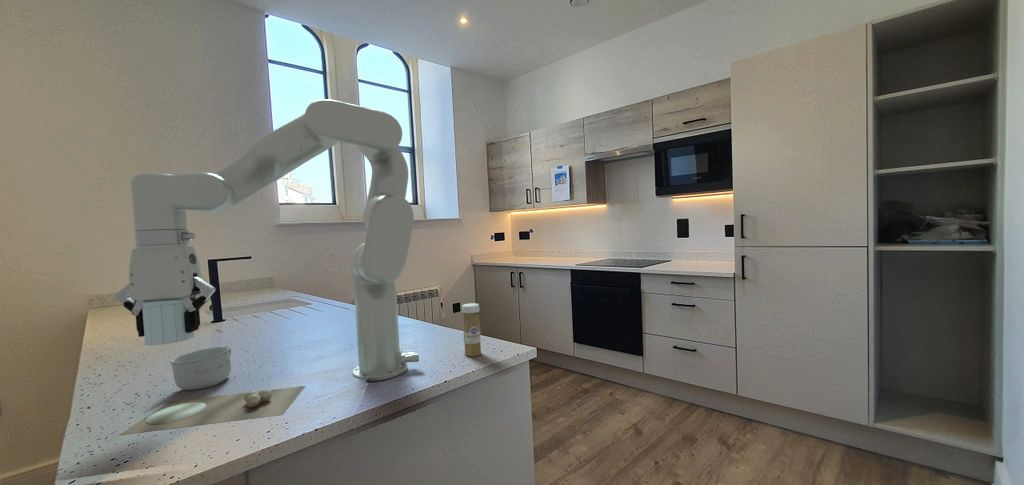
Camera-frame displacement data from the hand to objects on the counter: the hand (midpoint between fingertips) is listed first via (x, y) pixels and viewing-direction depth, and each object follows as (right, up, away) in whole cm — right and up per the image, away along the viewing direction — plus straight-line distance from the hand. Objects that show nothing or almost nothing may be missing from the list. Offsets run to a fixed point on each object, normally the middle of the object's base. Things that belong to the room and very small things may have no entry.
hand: (169, 332), depth 77 cm
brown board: (+9, -16, +2) cm, 18 cm away
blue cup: (0, -1, 0) cm, 1 cm away
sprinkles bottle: (+55, -13, +31) cm, 64 cm away
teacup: (-6, -16, +18) cm, 25 cm away
